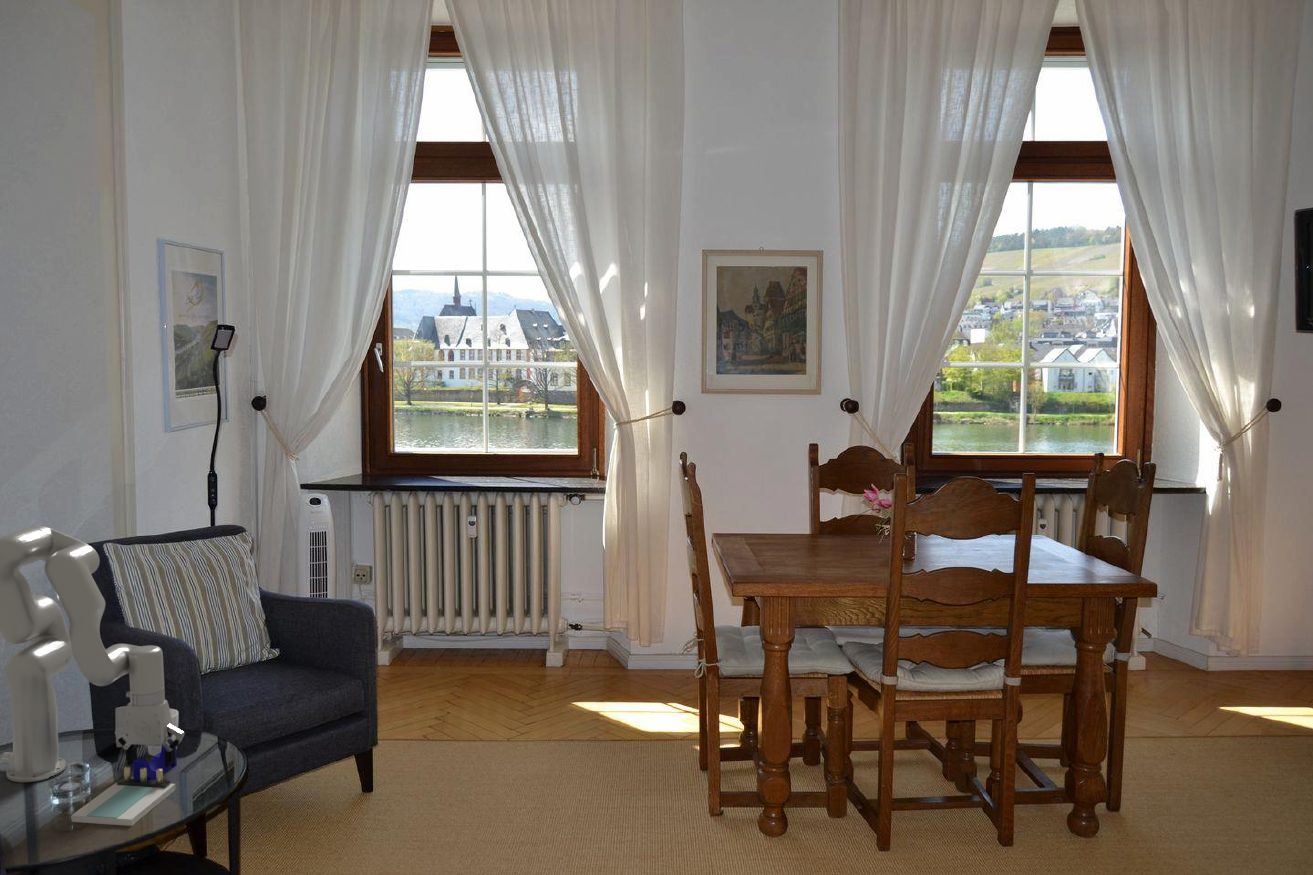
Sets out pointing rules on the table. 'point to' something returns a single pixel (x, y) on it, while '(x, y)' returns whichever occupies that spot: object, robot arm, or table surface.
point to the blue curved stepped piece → (152, 765)
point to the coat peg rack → (143, 779)
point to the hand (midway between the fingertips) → (151, 764)
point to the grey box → (120, 721)
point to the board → (122, 805)
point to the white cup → (157, 749)
